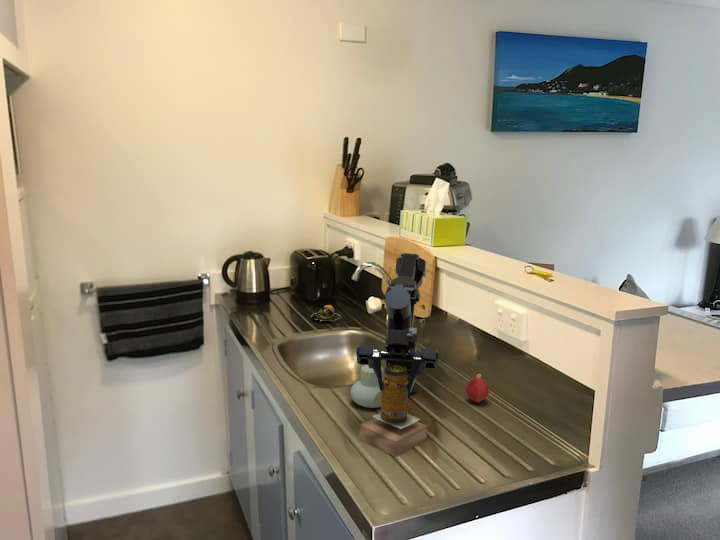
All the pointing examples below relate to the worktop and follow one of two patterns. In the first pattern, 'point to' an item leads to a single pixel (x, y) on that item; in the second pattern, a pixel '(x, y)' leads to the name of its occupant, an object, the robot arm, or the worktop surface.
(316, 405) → the worktop surface
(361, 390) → the air freshener
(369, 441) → the pinkish brown square block
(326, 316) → the burger
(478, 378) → the onion
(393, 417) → the condiment
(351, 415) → the worktop surface
